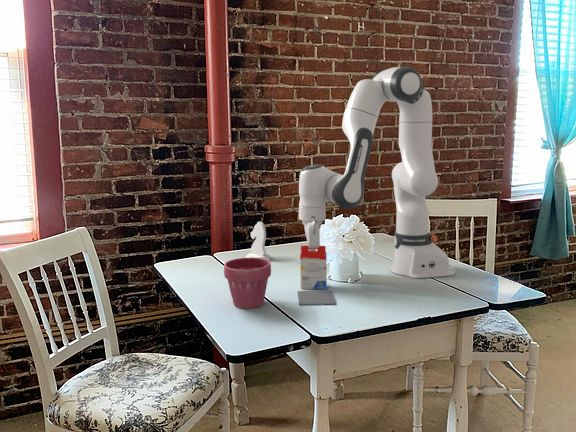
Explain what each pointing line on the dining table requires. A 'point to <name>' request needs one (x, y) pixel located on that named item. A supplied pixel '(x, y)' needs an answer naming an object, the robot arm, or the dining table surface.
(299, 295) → the mat
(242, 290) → the plant pot
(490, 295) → the dining table surface
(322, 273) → the ink box
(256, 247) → the chess piece
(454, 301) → the dining table surface
